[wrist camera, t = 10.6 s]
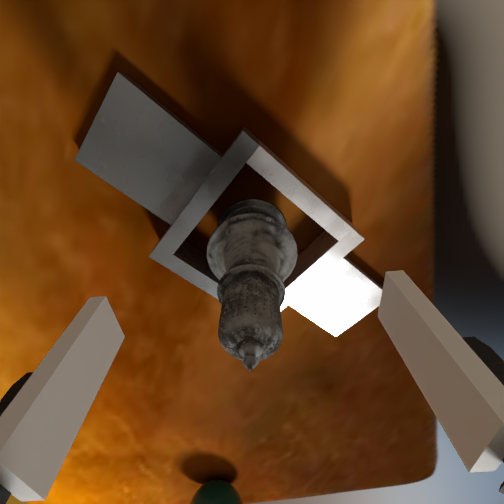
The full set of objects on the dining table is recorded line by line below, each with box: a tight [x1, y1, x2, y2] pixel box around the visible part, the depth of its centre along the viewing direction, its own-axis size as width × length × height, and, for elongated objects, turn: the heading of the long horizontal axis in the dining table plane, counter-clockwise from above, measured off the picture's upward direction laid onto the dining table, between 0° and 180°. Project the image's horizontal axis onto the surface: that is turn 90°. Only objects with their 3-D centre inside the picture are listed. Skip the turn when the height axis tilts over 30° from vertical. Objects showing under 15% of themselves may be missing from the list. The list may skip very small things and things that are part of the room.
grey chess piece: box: [207, 199, 298, 371], centre depth 16 cm, size 6×6×12 cm
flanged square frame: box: [75, 72, 383, 337], centre depth 20 cm, size 24×10×2 cm, turn 50°
